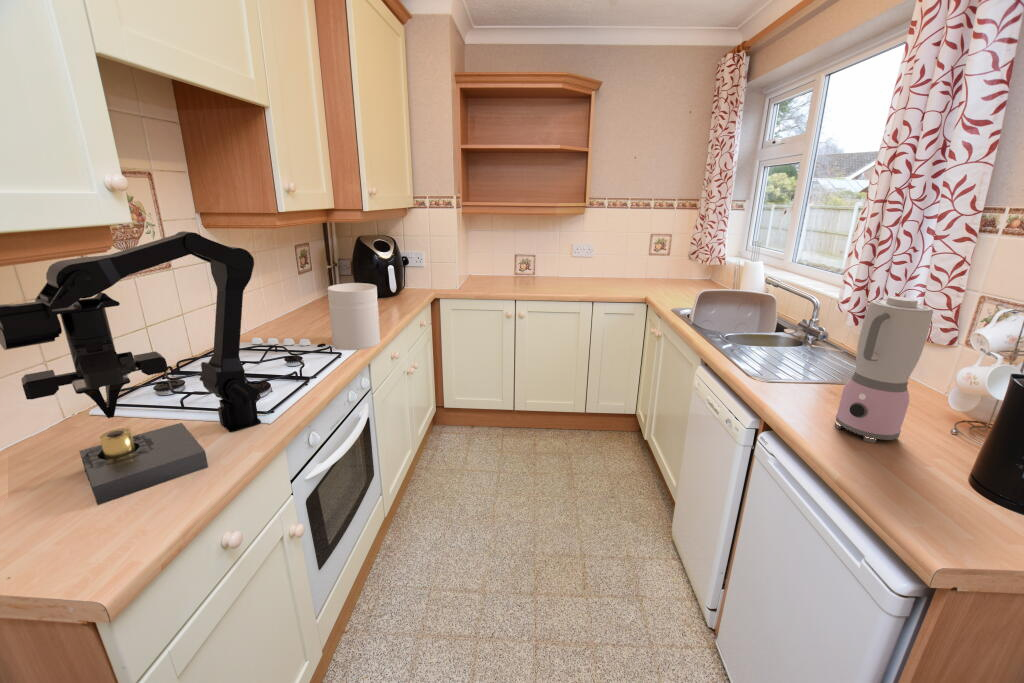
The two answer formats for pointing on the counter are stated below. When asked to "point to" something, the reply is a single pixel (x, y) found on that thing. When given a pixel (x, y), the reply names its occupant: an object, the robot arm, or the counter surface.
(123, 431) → the bushing
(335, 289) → the canister
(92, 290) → the robot arm
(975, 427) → the counter surface
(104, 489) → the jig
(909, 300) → the blender
